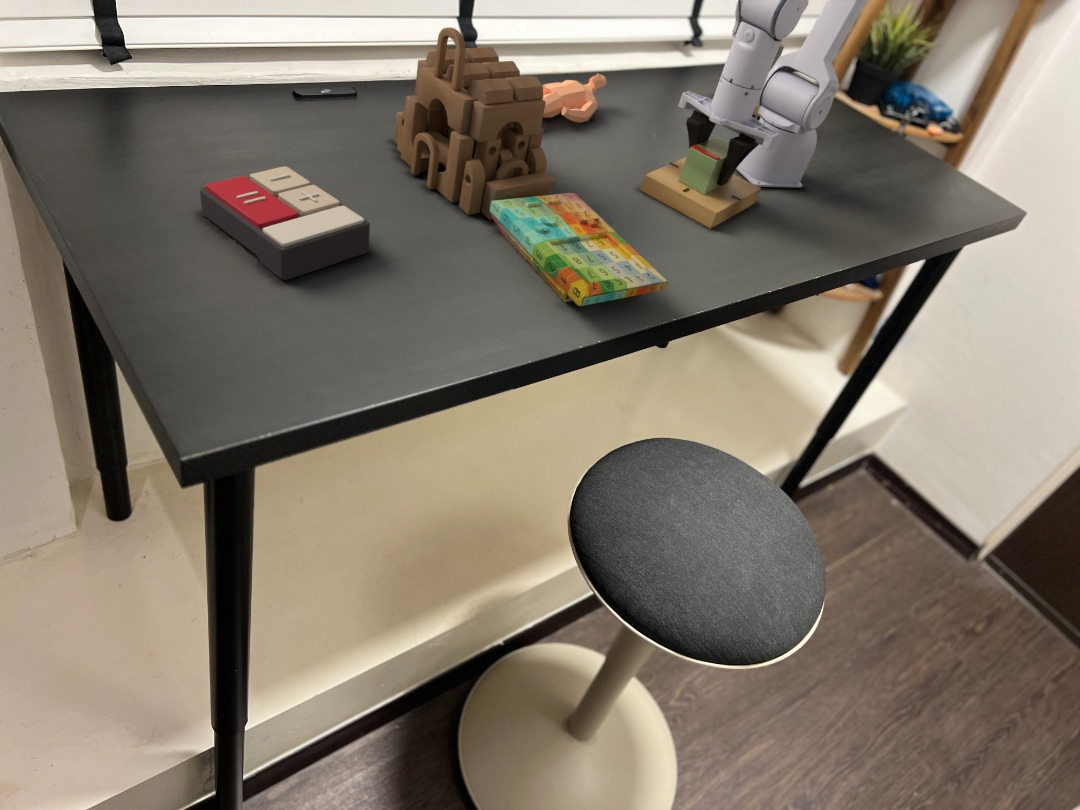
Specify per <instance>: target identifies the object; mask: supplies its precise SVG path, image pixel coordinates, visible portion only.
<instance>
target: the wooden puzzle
mask: <svg viewBox="0 0 1080 810" xmlns="http://www.w3.org/2000/svg"><path fill="white" fill-rule="evenodd" d="M449 39H451V40H452V41H453V43H454V47H455V48H451V49H450V48H447V47H448V41H449ZM542 85H543V84H542V83H541V81H540V79H539V78H538V76H536V75H525V76H524V75H523V76H521V70H520V68H519V67H518V66H517V64H516V62H515V61H513V60H500V57H499V55H498V54H497V52H496V50H495V49H494V48H493V47H492V46H488V47H487V46H485V47H466V43H465V38H464V36H463V35H462V33H461V32H460V31H459V30H458V29H456V28H454V27H450V26H449V27H443V28H442V29H441V30H440V31H439V33H438V37H437V42H436V49H430V50H428V53H427V55H426V57H425V59H418V60H417V67H416V77H415V86H414V87H415V88H414V93H415V94H414V95H406V97H405V107H404V110H403V111H398V112H396V116H395V126H394V137H393V142H394V143H395V144H396V146H397V147H396V151H398V152H399V154H400V159H401V160H402V161H403V162H405V163H406V164H407V165H408V166H410V174H411V175H413V176H414V177H416V176H420V173H423V172H427V180H426V188H427V189H428V190H430V191H433V190H437V192H439V193H440V194H441V195H442V196H443V197H444V198H445V199H447V200H448V201H449V202H450V203H452V204H453V203H458V208H459V209H460V210H462V211H463V212H464V213H465V214H466V215H468V216H472V215H477V214H480V213H481V214H482V215H483V216H485V218H487V219H488V221H494V220H493V218H492V215H491V213H490V211H489V209H490V203H491V201H495V200H505V199H514V198H524V197H534V196H543V195H553V190H554V186H555V182H556V178H554V177H553V176H551V175H550V174H549V173H548V172H547V156H546V154H545V151H544V150H543V148H542V147H541V146H542V140H543V137H544V136H543V135H544V131H545V129H544V128H543V127H542V122H543V118H544V117H543V114H544V109H545V104H546V101H544V100H543V86H542ZM443 169H445V170H444V171H442V172H439V170H443Z"/></svg>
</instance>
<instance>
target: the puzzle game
mask: <svg viewBox="0 0 1080 810" xmlns="http://www.w3.org/2000/svg"><path fill="white" fill-rule="evenodd" d="M489 211H490V213H491V215H492V218H493V220H492V221H493V222H494V223H495V225H496V227H497V228H498V230H499V231H500V233H501V235H503V237H504V238H505V239H506V240H507V241H508V242H509V243H510V244H511V245H512V246H513V247H514V248H515V250H516V251H517V252H518V253H519V254H520V255H521V256H522V257H523V259H525V261H527V263H528V264H529V265H530V266H531V267H532V268H533V269H534V270H535V271H536V272H537V273H538V274H539V275H540V277H541V278H542V279H543V280H544V281H545V283H547V284H548V285H549V286H550V288H552V290H554V292H555V293H556V294H557V295H558V296H559V297H560V298H561V299H562V301H564V302H565V303H569V302H574V304H575V305H576V306H578V307H583V306H589V305H595V304H600V303H605V302H610V301H615V300H620V299H626V298H629V297H630V298H631V297H635V296H640V295H645V294H651V293H656V292H660V291H666V290H667V286H668V285H669V284H668V283H669V281H668V280H667V279H666V278H665V277H664V276H662V274H660V273H659V272H658V270H656V269H655V268H654V267H653V266H652V265H651V264H650V263H649V262H648V261H647V260H646V259H645V258H644V257H643V256H642V255H641V254H640V253H639V252H637V251H636V250H635V249H634V248H633V247H632V246H631V245H630V244H629V243H628V242H627V241H626V240H625V239H624V238H623V237H622V236H621V235H620V234H618V233H617V232H616V231H615V229H613V227H611V226H610V225H609V224H608V223H607V222H606V221H605V220H604V219H603V218H602V217H601V216H600V215H598V214H597V212H596V211H594V210H593V209H592V208H591V207H590V206H589V205H588V204H587V203H586V202H585V201H584V200H583V199H582V198H581V197H580V196H579V195H578V194H577V193H575V192H564V193H557V194H556V193H555V194H554V193H552V195H543V196H534V197H524V198H514V199H505V200H495V201H491V203H490V209H489Z"/></svg>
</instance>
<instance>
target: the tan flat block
mask: <svg viewBox="0 0 1080 810" xmlns="http://www.w3.org/2000/svg"><path fill="white" fill-rule="evenodd" d="M686 157H687V156H686ZM686 157H683V158H680V159H678V160H675V161H674V162H672V161H670V162H669V164H667V165H664V166H662V167H660V168H657V169H655V170H653V171H650V172H648V173H646V174H644V178H643V181H642V184H641V187H640V191H641V193H645V194H646V195H648V196H650V197H652V198H653V199H655V200H657V201H659V202H661V203H662V204H665V205H666V206H668V207H670V208H672V209H674V210H675V211H677V212H679V213H681V214H682V215H685V216H686V217H688V218H690V219H692V220H693V221H695V222H696V223H699V224H701V225H702V226H704V227H706V228H709V229H710V230H711V229H713V228H714V227H716V226H718V225H720V224H721V223H723V222H725V221H727V220H729V219H731V218H732V217H734V216H735V215H737V214H739V213H741V212H742V211H744V210H745V209H748V208H749V207H751V206H753V205H755V204H756V201H757V199H758V197H759V194H760V192H761V190H762V187H757V186H756V185H754V184H752V183H750V182H749V181H748V180H747V179H745V178H742V177H740V176H738V175H735V173H734V174H733V176H732V179H731V181H730V182H728V183H726V184H724V185H722V186H720V187H718V188H716V189H714V190H712V191H710V192H708V193H706V194H703V193H701V192H699V191H697V190H695V189H693V188H691V187H689V186H687V185H686V184H684V183H682V182H680V181H678V180H679V177H680V174H681V171H682V168H683V166H684V163H685V160H686Z"/></svg>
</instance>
